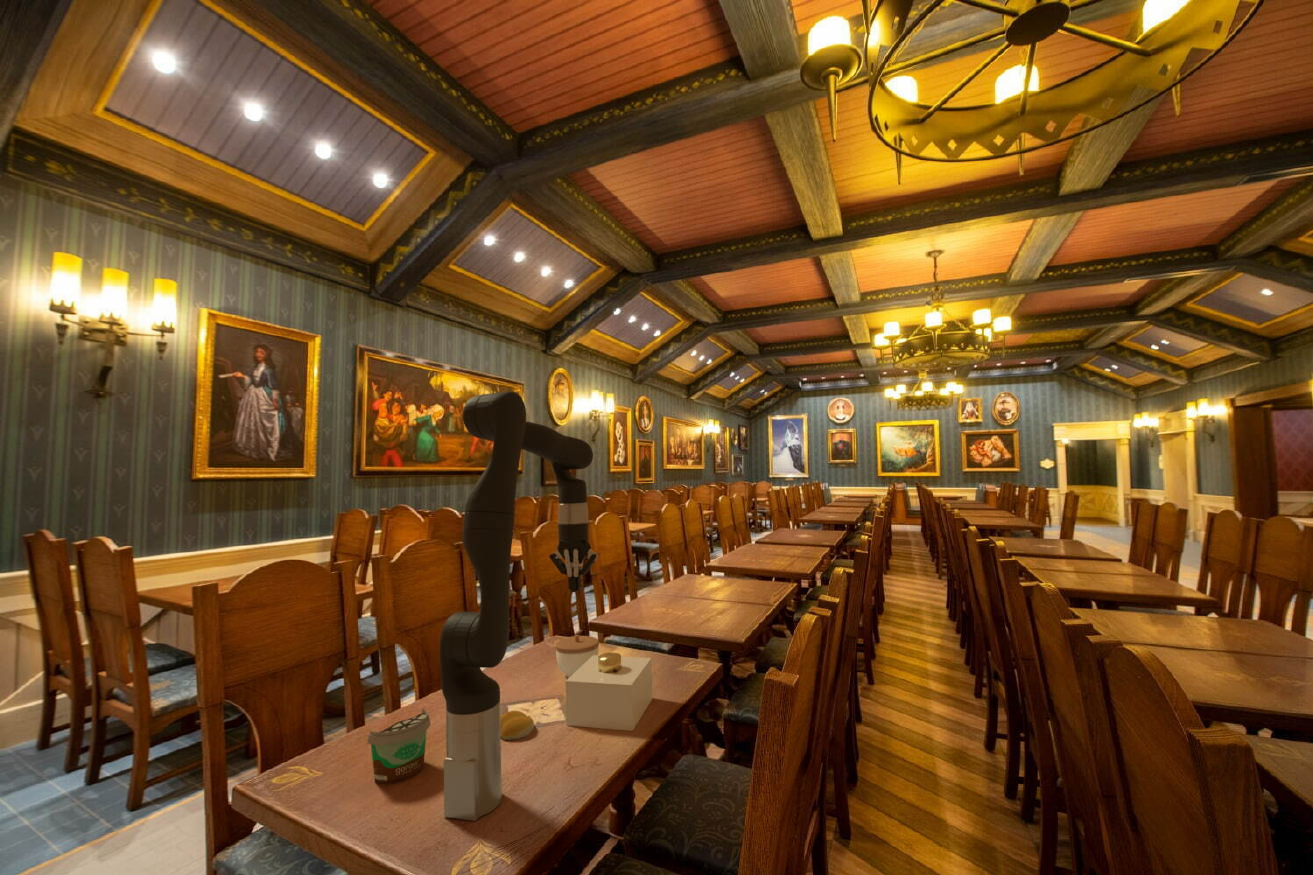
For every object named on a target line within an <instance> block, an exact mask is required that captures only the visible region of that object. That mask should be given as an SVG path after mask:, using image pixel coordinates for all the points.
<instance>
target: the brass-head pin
mask: <svg viewBox="0 0 1313 875" xmlns="http://www.w3.org/2000/svg"><path fill="white" fill-rule="evenodd" d="M621 657H622V655H621V654H620V653H618V652H605V653H602V654H598V668H599V671H600V672H602V673H617V672H618V671H620V670H621Z"/></svg>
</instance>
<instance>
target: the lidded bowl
mask: <svg viewBox="0 0 1313 875" xmlns="http://www.w3.org/2000/svg"><path fill="white" fill-rule="evenodd" d="M599 641H600V640H599V639H598V638H597V637H594V636H589V635H579V634H575V635H573V636H568V637H564V638H562V639H559V640H558V641H556V642H555V646H554V647H555V656H556V662H557V666H558V668H559V670H560V671H561V672H562V673H563V674H564V675H565V677H566V678H567V679H568V678H569V677H570V676H571V675H573V674H574V673H575V672H576V671H577V670H578V669H579V668H580V667H581V666H582V665H583V664H584V663H585V662H587V661H588V660H589V659H590V658H591V657H592V656H593V655H598V656H599V645H600V642H599Z"/></svg>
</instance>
